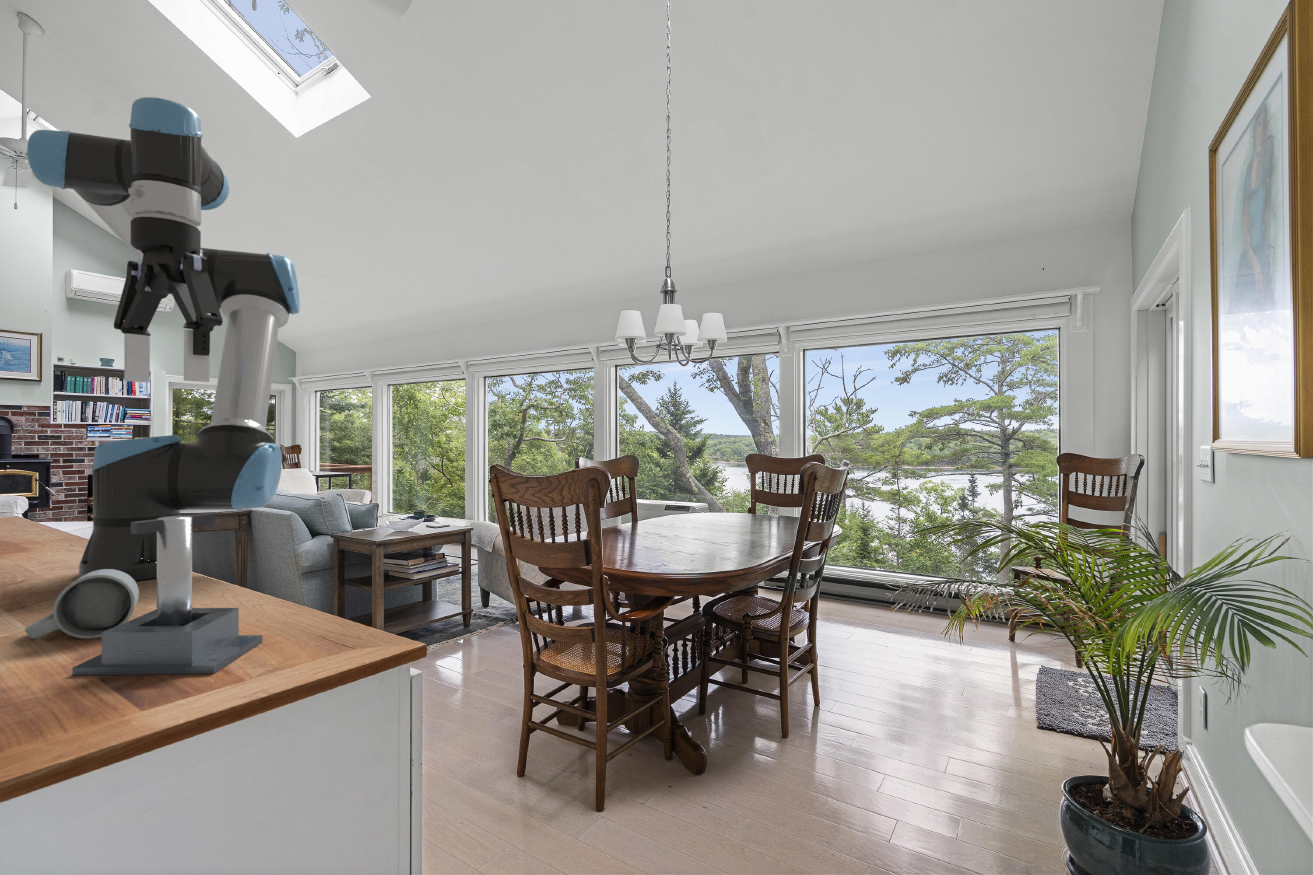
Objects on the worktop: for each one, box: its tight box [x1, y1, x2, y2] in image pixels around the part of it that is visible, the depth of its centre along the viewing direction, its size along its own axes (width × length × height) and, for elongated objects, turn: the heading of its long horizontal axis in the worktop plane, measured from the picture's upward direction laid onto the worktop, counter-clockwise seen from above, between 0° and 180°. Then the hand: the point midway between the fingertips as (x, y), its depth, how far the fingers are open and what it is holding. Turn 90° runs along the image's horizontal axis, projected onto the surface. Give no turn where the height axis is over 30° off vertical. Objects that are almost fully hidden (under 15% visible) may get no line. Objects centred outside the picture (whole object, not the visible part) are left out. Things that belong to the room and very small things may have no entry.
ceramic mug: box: [24, 569, 140, 640], centre depth 82 cm, size 11×8×8 cm
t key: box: [131, 512, 216, 626], centre depth 74 cm, size 8×3×15 cm, turn 155°
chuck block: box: [71, 607, 263, 676], centre depth 74 cm, size 10×14×4 cm
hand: (165, 381), depth 88 cm, fingers open, 13 cm apart
